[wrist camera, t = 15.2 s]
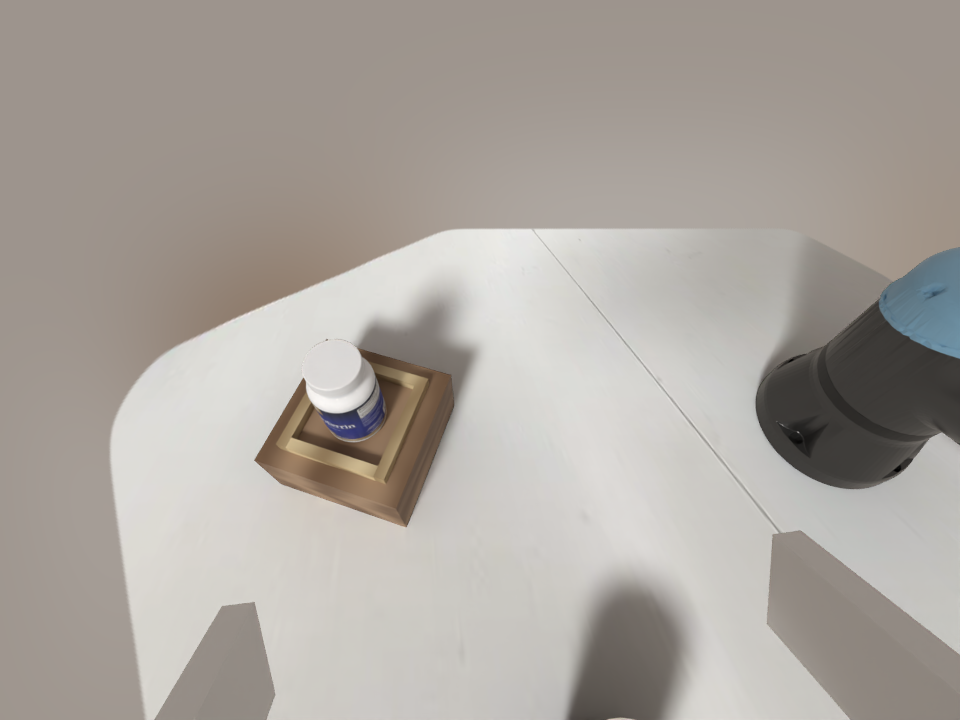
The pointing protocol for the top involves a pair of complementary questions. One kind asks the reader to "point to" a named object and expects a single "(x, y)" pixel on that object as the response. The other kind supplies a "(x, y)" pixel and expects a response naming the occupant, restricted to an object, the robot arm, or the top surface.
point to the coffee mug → (620, 719)
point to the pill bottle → (344, 390)
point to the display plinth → (365, 444)
